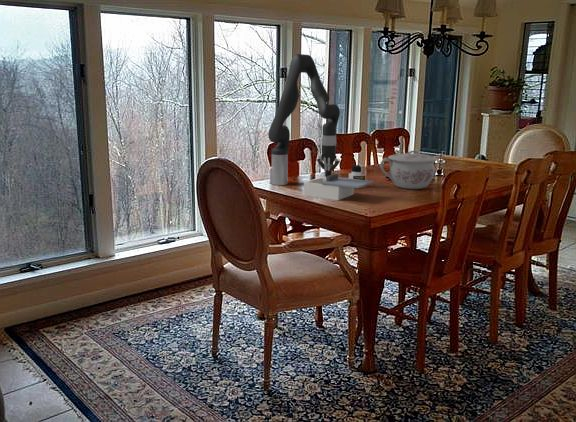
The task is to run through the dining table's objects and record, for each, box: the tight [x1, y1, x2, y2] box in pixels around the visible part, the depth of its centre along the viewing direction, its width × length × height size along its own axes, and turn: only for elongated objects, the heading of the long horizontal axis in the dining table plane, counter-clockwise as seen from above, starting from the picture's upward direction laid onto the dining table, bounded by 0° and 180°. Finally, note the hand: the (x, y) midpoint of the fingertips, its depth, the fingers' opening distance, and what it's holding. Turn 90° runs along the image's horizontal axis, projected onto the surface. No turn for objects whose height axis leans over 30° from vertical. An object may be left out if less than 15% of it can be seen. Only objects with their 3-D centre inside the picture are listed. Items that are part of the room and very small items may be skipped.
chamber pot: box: [379, 150, 439, 190], centre depth 311 cm, size 28×28×21 cm
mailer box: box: [303, 177, 355, 201], centre depth 290 cm, size 20×18×7 cm
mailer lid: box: [321, 173, 374, 189], centre depth 283 cm, size 21×19×3 cm
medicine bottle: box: [348, 164, 366, 189], centre depth 312 cm, size 7×7×12 cm
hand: (328, 177), depth 288 cm, fingers closed
